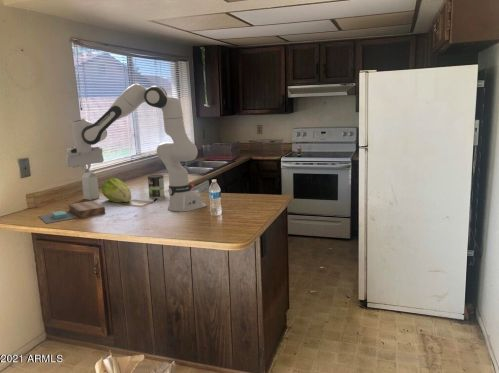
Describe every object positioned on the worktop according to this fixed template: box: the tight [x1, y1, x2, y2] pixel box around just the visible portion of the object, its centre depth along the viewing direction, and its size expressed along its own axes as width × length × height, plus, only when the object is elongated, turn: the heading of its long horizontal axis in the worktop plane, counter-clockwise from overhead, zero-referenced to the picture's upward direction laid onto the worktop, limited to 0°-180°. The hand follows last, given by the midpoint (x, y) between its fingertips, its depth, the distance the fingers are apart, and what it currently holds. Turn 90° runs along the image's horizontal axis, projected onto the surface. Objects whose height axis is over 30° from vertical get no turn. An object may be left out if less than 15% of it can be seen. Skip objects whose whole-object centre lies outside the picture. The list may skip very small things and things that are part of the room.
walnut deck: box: [68, 200, 106, 219], centre depth 246 cm, size 14×22×4 cm, turn 37°
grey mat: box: [38, 210, 78, 224], centre depth 237 cm, size 16×20×1 cm
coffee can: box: [147, 174, 165, 199], centre depth 283 cm, size 10×10×14 cm
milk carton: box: [81, 170, 100, 201], centre depth 283 cm, size 7×7×19 cm
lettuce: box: [101, 177, 132, 203], centre depth 273 cm, size 15×24×16 cm
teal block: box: [51, 210, 67, 219], centre depth 238 cm, size 6×9×2 cm, turn 37°
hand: (86, 172), depth 242 cm, fingers closed
